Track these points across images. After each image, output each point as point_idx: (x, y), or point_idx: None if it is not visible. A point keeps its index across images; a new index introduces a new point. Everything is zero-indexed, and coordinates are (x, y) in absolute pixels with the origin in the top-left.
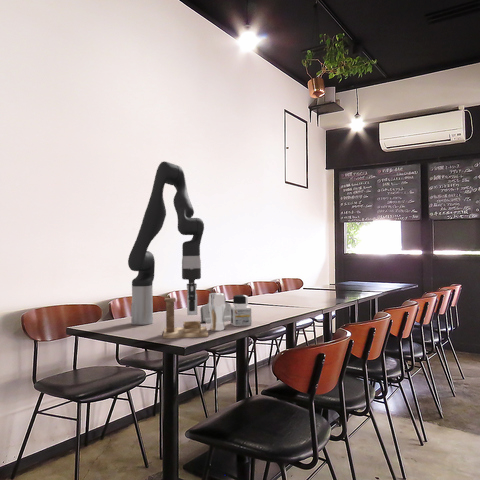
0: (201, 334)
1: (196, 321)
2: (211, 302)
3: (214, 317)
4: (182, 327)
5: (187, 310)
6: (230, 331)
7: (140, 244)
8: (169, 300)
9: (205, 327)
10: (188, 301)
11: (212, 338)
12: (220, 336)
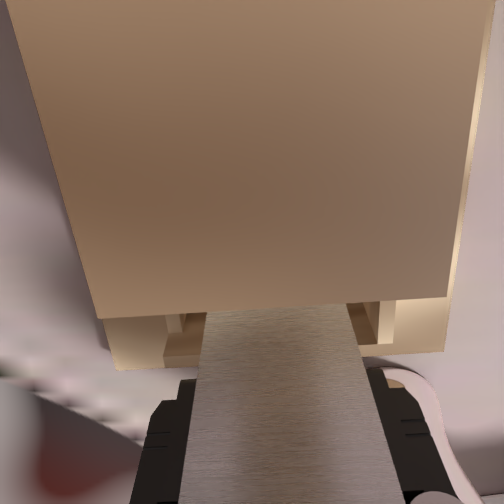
0: (105, 328)
1: (378, 327)
2: None
3: None
4: (471, 154)
5: (201, 357)
6: None
7: None
8: (64, 121)
9: (400, 349)
10: (183, 496)
11: (59, 380)
12: (129, 420)
